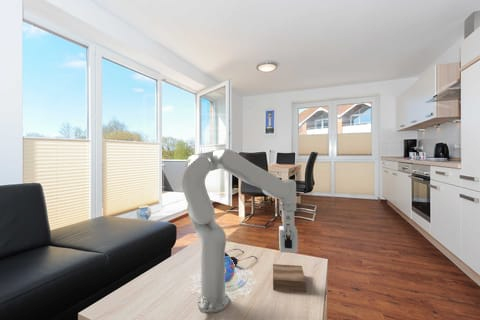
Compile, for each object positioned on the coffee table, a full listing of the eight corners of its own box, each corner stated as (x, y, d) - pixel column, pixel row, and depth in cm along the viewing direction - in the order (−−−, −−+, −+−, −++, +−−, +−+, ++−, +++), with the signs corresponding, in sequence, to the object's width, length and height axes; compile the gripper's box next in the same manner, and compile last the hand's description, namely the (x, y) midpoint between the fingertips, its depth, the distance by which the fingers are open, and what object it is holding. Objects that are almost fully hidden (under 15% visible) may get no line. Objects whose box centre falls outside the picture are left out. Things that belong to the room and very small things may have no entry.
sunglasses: (221, 260, 128) (221, 251, 128) (242, 253, 139) (242, 245, 139) (237, 269, 118) (237, 259, 118) (258, 261, 129) (258, 252, 129)
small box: (296, 248, 107) (296, 226, 107) (298, 253, 102) (297, 229, 101) (279, 247, 108) (278, 225, 108) (280, 252, 102) (279, 229, 102)
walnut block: (305, 293, 97) (305, 281, 97) (273, 290, 99) (273, 279, 99) (301, 275, 111) (301, 265, 111) (273, 273, 113) (273, 264, 113)
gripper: (297, 211, 95) (297, 253, 95) (295, 202, 112) (295, 238, 112) (279, 210, 96) (279, 252, 97) (279, 202, 113) (280, 237, 114)
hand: (288, 244), depth 105 cm, fingers closed on small box, 5 cm apart
